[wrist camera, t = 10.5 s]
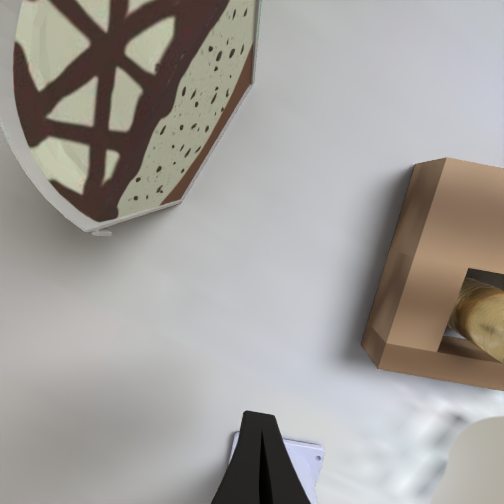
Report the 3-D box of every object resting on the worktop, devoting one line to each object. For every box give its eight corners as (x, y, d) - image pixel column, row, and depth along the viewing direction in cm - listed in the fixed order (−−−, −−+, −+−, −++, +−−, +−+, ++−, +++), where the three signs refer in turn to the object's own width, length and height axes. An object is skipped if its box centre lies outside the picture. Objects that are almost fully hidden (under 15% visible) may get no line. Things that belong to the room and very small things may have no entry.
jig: (516, 372, 21) (559, 400, 18) (360, 344, 21) (377, 368, 18) (596, 198, 18) (663, 199, 15) (415, 163, 18) (446, 157, 15)
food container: (185, -2, 16) (72, -316, 6) (267, 60, 17) (281, -135, 7) (96, 170, 18) (-90, 141, 8) (171, 219, 19) (78, 245, 9)
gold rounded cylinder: (475, 329, 20) (544, 371, 15) (425, 321, 20) (479, 360, 15) (493, 281, 19) (573, 309, 14) (441, 272, 19) (504, 298, 14)
